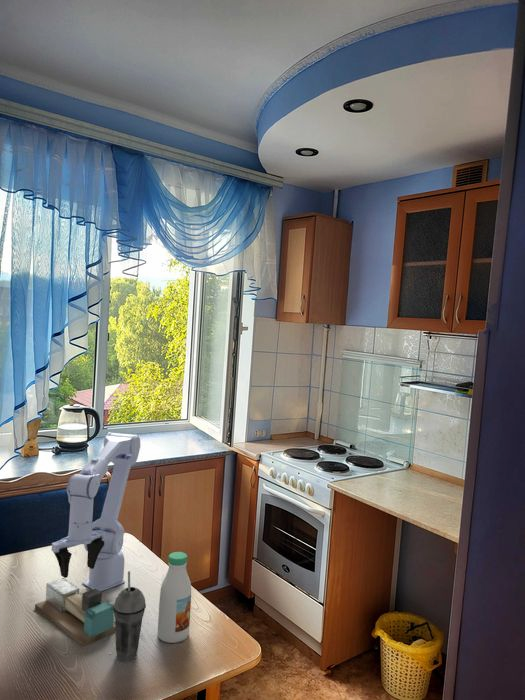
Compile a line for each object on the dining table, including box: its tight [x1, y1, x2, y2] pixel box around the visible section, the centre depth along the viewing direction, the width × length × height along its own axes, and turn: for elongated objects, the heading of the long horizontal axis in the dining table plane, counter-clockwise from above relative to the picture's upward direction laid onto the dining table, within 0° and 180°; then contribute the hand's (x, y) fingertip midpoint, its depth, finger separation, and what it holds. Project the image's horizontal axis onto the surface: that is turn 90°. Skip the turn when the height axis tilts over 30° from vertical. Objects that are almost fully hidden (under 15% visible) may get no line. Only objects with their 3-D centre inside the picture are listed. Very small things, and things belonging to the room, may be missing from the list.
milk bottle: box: [157, 551, 192, 644], centre depth 128 cm, size 8×8×20 cm
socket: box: [84, 600, 115, 638], centre depth 126 cm, size 6×3×6 cm, turn 140°
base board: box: [34, 599, 116, 647], centre depth 133 cm, size 10×23×1 cm, turn 50°
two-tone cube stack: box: [64, 588, 103, 622], centre depth 130 cm, size 4×14×7 cm, turn 50°
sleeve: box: [45, 577, 80, 613], centre depth 137 cm, size 5×8×5 cm, turn 50°
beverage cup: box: [113, 570, 147, 663], centre depth 119 cm, size 7×7×20 cm
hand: (77, 571), depth 136 cm, fingers open, 7 cm apart
